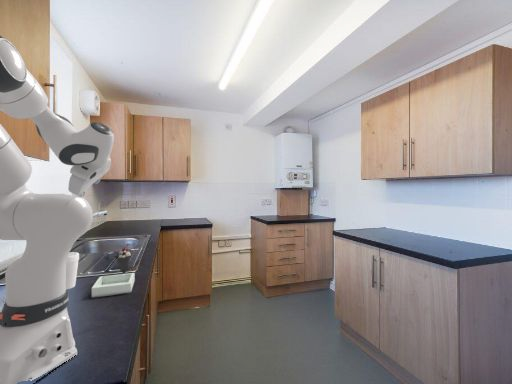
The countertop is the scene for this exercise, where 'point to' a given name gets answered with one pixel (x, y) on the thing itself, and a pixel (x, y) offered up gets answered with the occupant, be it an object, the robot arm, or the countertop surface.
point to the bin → (113, 285)
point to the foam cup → (71, 269)
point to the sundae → (123, 259)
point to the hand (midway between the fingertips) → (88, 188)
